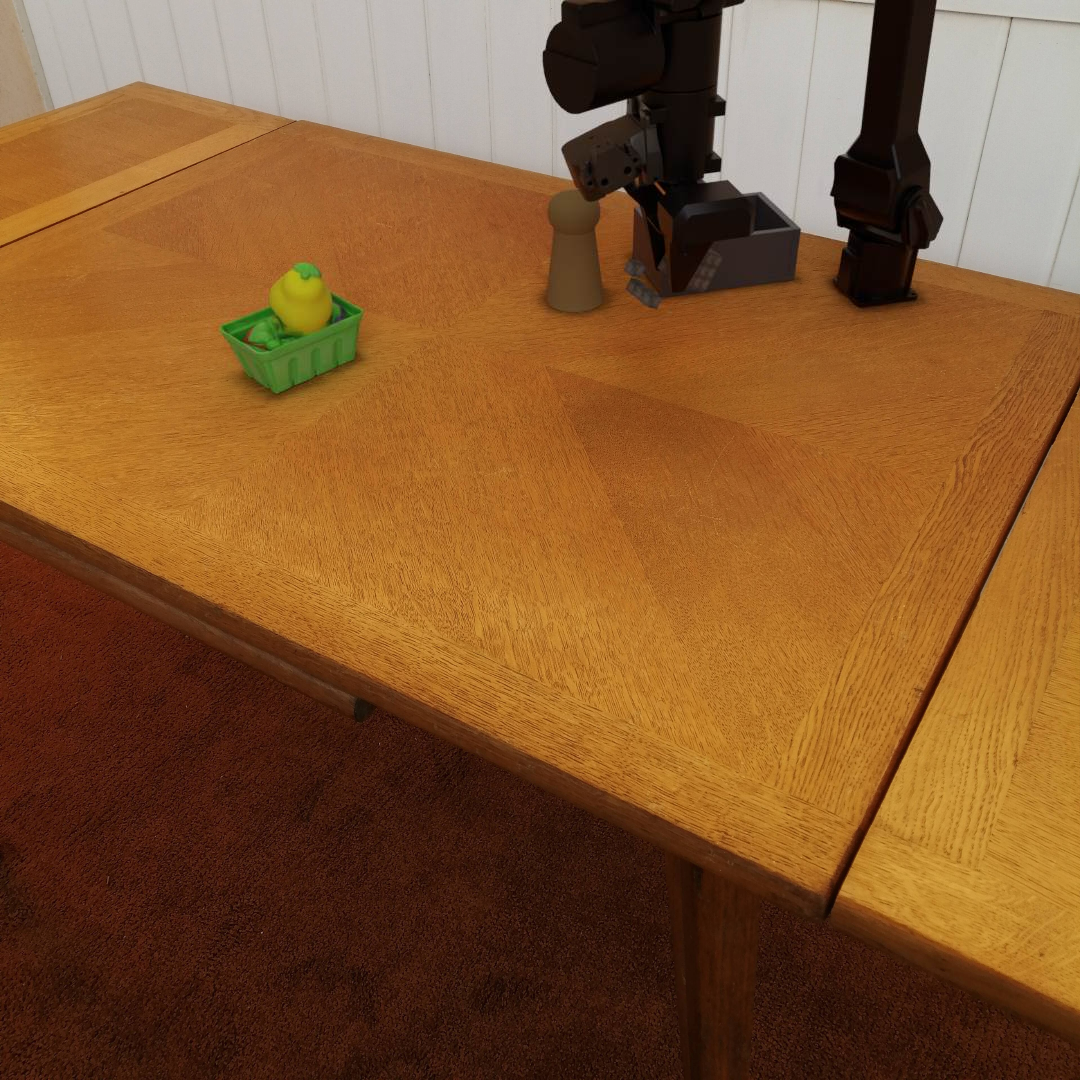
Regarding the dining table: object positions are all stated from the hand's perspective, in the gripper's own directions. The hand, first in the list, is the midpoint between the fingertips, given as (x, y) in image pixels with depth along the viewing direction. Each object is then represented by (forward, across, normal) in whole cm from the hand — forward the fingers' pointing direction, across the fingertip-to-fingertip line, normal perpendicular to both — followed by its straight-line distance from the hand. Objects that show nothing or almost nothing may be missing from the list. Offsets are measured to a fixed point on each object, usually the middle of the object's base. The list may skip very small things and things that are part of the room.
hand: (669, 280), depth 83 cm
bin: (+11, -22, +13) cm, 28 cm away
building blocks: (+1, 0, 0) cm, 1 cm away
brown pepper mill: (+11, -20, -3) cm, 23 cm away
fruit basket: (+10, -13, -31) cm, 35 cm away
